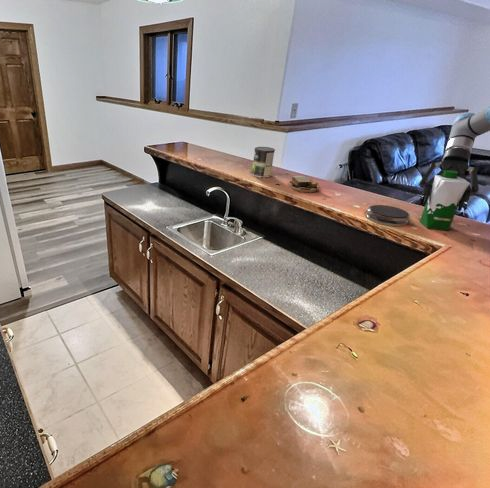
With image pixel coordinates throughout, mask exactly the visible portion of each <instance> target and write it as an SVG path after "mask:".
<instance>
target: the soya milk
mask: <svg viewBox="0 0 490 488" xmlns="http://www.w3.org/2000/svg"><path fill="white" fill-rule="evenodd" d="M457 175H458V172H457V171H453V170H445V171H444V173H443V175H436V174H435V175H434V176H435V178H434V181H433V184H432V185H431V186H432V187H431V190H430V194H429V197H428V200H427V203H426V205H424V207H423V210H422V213H421V216H420V218H419V223H421V225H422V226H424V228H426V229H428V230H435V231H437V230H438V231H447V232H448V231H450V228H451V226H452V223H453V220H454V218H455V215H456V213H457V211H458V207H459V203H460V201H461V198H462V196H463V194H464V192H465V190H466V189H467V187H468V186H469V185H471V182H469V181H468V180H467V181H468V182H467V181H466V180H464V179H462V178H460V177H457Z"/></svg>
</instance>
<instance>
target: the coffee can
mask: <svg viewBox="0 0 490 488" xmlns="http://www.w3.org/2000/svg"><path fill="white" fill-rule="evenodd" d="M275 151H276V149H275V148H273V147H269V146H257V147H254V153H253V162H252V169H251V176H252V177H254V178H255V177H256V178H261V177H263V178H265V177H267V178H270V177H271V176H272V170H273V162H274V157H275ZM263 178H262V179H263ZM265 179H266V178H265Z"/></svg>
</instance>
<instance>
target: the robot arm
mask: <svg viewBox="0 0 490 488" xmlns="http://www.w3.org/2000/svg"><path fill="white" fill-rule="evenodd" d="M488 132H490V106H488V107H486V108H485V109H483V110H481V111H478V112H477V113H475V112H467V113H462V114H459V115H458V116H457V117H456V118H455V119H454V121H453V124H452V125H451V128H450V133H449V137H448V141H447V143H446V146H445V151H444V153H443V157H442V159H441V161H440V162H436V161H435V160H432V161H431V162H430V165H429V168H428V169H427V170H426V173H424V175H423V177H422V178H421V180H420V182H419V184H418V186H419V187H423V190H422V193H421V195H422V196H424V198H423V203H422V205H424V206H425V205H426V203H427V200H428V197H429V194H430V191H431V188H432V185H433V181H434V178H435V175H443V173H444V171H445V170H453V171H457V172H458V175H457V177H460V178H462V179H464V180H466V181H467V182H469V181H470V184H469V186H468V187H467V189H466V190H465V192H464V194H463V196H462V198H461V201H460V203H459V206H458V208H457V212H461V211H462V210H463V207H464V204H465V203H468V202H469V200H470V197H471V195H477V193H478V192H479V190H480V189H479V187H480V186H479V179H478V170H479V168H480V167H479V166H474V167H473V166H470V165H469V161H470V158H471V155H472V154H471V153H472V152H473V146H474V144H475V140H476V138H477V137H480V136H482V135H484V134H486V133H488ZM437 168H439V169H440V171H438V172H437V174H435V175H434V176H432V178H430V176H431V174H432V173H433V171H434V170H436V169H437ZM467 171H468V174H469V175H470V176H469V178H470V180H469V181H468V179H467V177H466V173H465V172H467ZM429 178H430V179H429ZM428 179H429V180H428Z"/></svg>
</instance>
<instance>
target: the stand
mask: <svg viewBox="0 0 490 488" xmlns="http://www.w3.org/2000/svg"><path fill="white" fill-rule="evenodd" d="M365 217H366V219H367V220H368V221H370V222H373V223H375V224H379V225H382V226H385V227H396V228H397V227H398V228H399V227H405V226H407V225H408V222H409V219H410V217H411V214H410V213H409V212H408V211H406V210H405V209H402V208H399V207H396V206H392V205H387V204H386V205H385V204H373V205H370V206H368V207H367V210H366V214H365Z"/></svg>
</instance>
